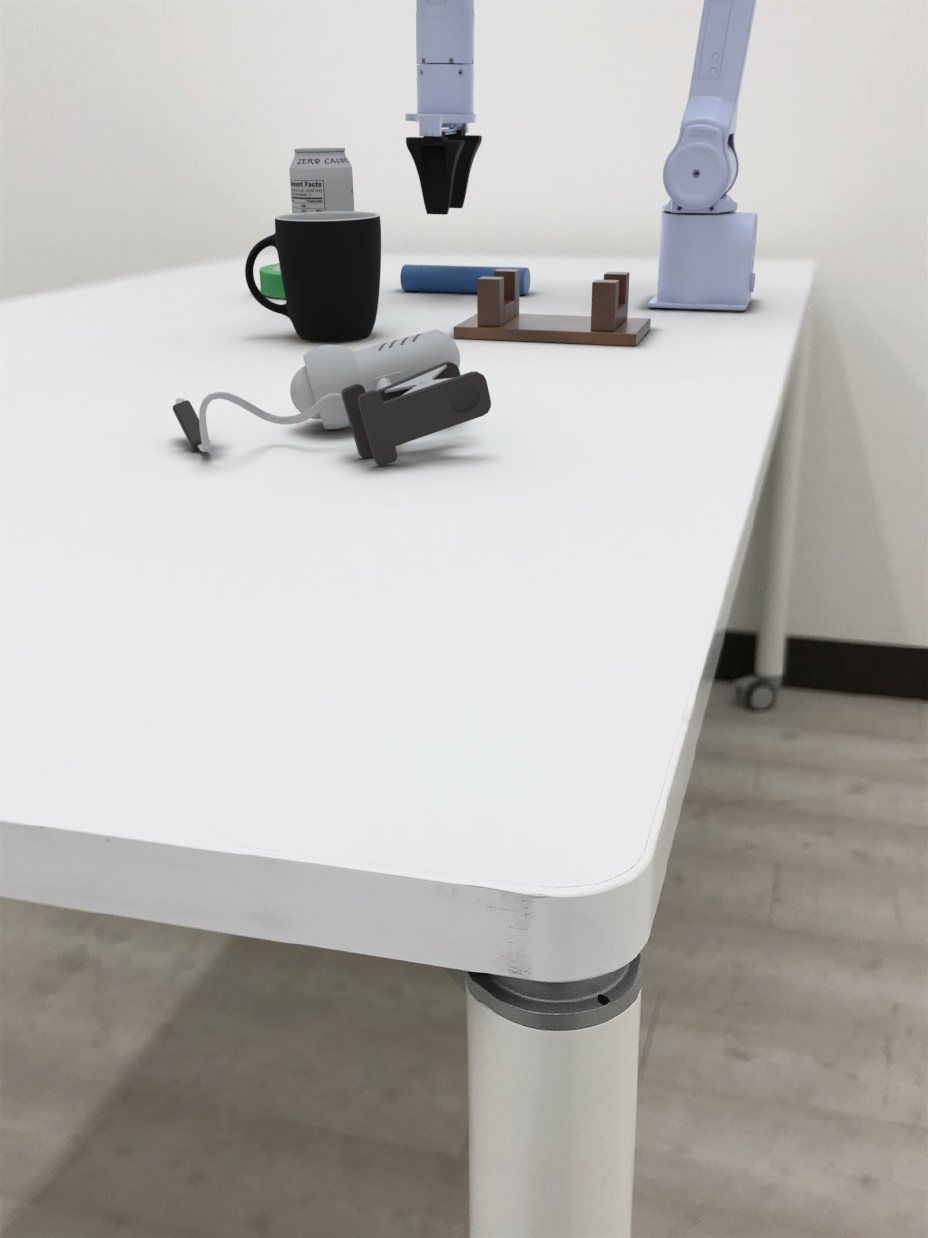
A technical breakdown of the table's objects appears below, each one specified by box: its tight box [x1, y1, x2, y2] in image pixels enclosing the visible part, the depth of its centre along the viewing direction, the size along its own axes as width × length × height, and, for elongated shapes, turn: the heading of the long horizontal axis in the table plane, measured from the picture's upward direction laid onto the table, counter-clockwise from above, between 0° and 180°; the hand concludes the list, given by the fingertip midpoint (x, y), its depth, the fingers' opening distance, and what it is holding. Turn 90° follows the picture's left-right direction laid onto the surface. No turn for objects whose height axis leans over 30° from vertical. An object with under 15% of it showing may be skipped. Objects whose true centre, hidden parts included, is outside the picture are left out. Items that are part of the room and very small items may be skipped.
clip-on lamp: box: [172, 329, 492, 467], centre depth 65 cm, size 12×6×18 cm
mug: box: [244, 211, 382, 344], centre depth 96 cm, size 12×9×10 cm
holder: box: [453, 269, 652, 347], centre depth 97 cm, size 16×8×5 cm, turn 73°
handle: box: [399, 263, 531, 296], centre depth 121 cm, size 14×3×3 cm, turn 73°
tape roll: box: [258, 262, 286, 300], centre depth 123 cm, size 11×11×3 cm
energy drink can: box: [288, 147, 355, 214], centre depth 109 cm, size 6×6×15 cm
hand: (445, 210), depth 115 cm, fingers open, 7 cm apart
